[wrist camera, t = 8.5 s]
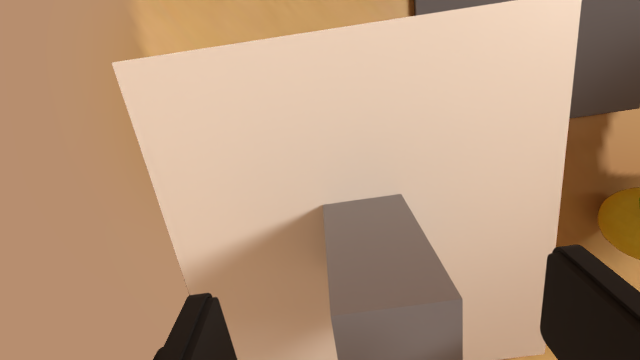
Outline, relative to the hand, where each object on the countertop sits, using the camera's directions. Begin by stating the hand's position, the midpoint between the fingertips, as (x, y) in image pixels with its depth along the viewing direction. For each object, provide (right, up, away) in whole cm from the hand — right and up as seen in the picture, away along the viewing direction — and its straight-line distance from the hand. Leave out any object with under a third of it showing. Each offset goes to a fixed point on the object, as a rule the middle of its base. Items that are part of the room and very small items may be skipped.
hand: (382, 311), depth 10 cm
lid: (0, +3, +6) cm, 7 cm away
